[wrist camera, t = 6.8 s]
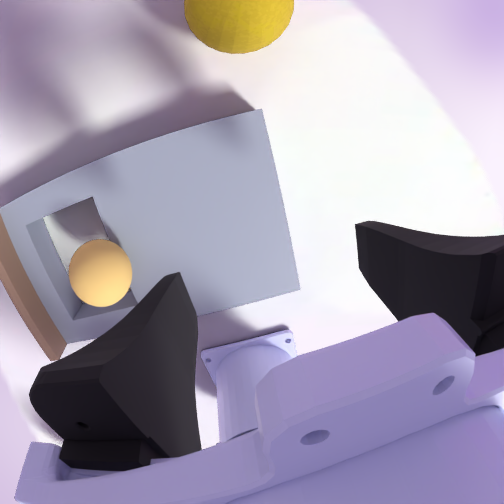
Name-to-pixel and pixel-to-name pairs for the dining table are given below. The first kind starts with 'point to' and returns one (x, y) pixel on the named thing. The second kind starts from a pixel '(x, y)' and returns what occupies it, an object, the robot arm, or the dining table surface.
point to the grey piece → (158, 228)
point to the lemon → (238, 22)
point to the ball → (100, 273)
